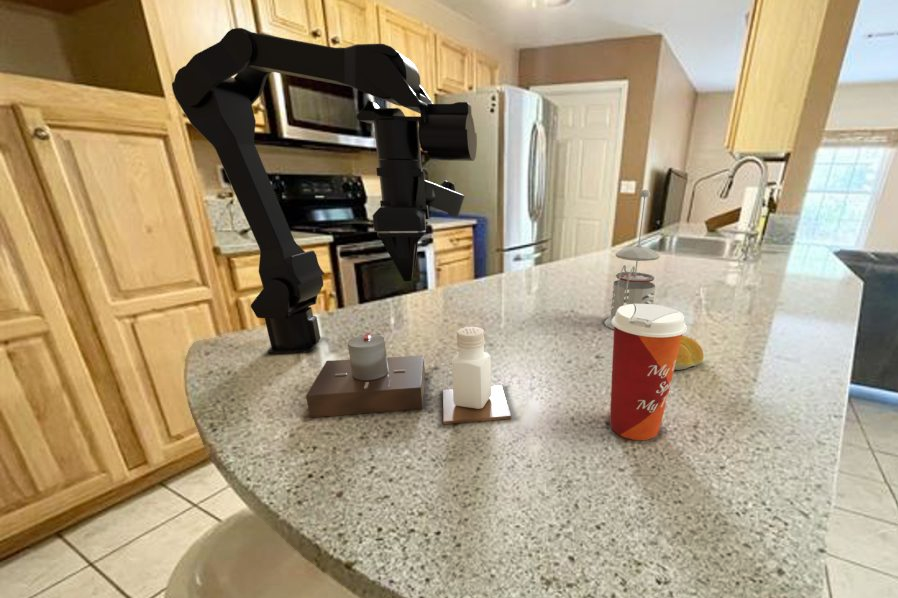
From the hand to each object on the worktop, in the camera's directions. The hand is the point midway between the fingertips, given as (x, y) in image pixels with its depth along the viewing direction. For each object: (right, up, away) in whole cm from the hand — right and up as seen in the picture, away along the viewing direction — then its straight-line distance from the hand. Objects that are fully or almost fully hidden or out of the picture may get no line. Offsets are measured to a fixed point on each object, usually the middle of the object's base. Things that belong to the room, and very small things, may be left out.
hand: (410, 274), depth 63 cm
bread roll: (+41, -13, +4) cm, 43 cm away
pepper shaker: (+11, -18, -10) cm, 23 cm away
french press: (+38, -7, +19) cm, 43 cm away
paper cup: (+30, -21, -14) cm, 39 cm away
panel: (-3, -17, -8) cm, 19 cm away
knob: (-3, -14, -9) cm, 17 cm away
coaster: (+11, -18, -10) cm, 24 cm away
